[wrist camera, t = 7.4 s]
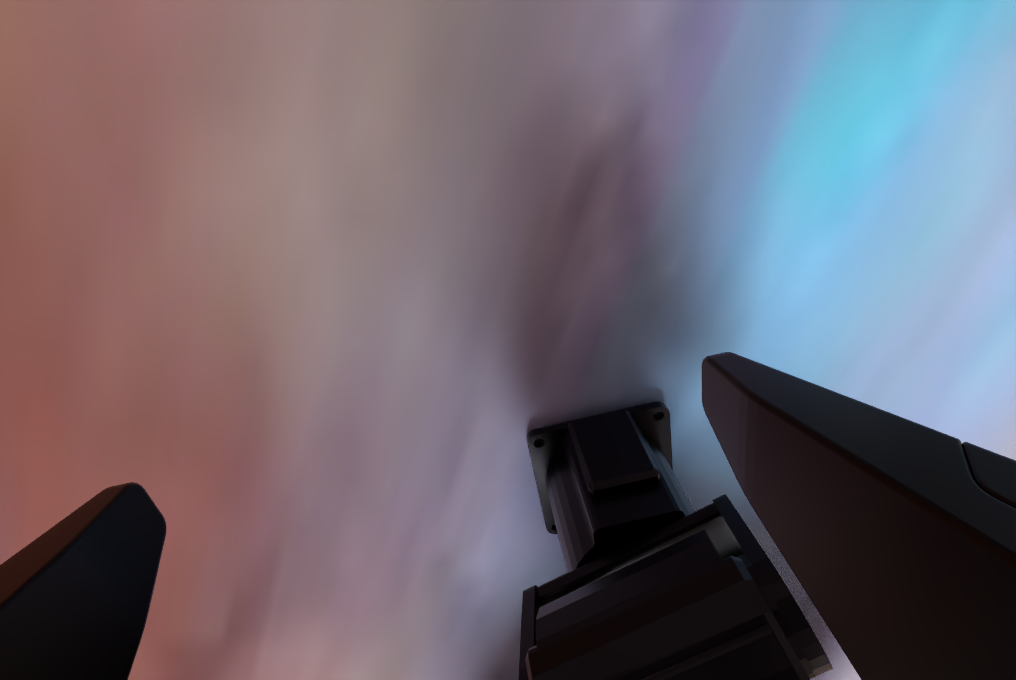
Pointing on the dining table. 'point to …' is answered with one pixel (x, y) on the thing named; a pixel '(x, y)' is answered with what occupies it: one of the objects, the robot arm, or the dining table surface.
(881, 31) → the dining table surface
